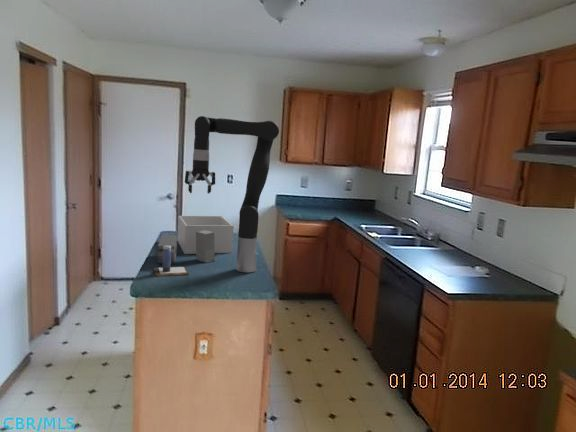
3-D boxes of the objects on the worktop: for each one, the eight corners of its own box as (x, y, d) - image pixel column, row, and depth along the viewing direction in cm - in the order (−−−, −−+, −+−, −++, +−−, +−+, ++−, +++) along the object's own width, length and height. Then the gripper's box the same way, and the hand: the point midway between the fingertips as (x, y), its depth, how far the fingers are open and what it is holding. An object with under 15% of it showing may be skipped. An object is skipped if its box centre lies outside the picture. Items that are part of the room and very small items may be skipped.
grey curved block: (173, 267, 221) (174, 246, 220) (157, 267, 220) (157, 245, 218) (176, 254, 246) (177, 235, 244) (161, 254, 244) (162, 234, 242)
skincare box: (214, 261, 238) (216, 232, 235) (203, 263, 232) (205, 233, 230) (205, 257, 243) (206, 229, 241) (194, 259, 238) (195, 230, 235)
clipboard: (185, 268, 221) (185, 264, 221) (188, 275, 211) (188, 271, 211) (153, 269, 216) (154, 265, 215) (155, 276, 206) (155, 272, 205)
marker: (170, 269, 213) (170, 245, 211) (170, 272, 210) (171, 247, 208) (161, 270, 212) (162, 245, 210) (162, 272, 209) (163, 247, 207)
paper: (183, 267, 220) (183, 266, 220) (186, 272, 211) (186, 272, 211) (158, 268, 215) (158, 267, 215) (160, 273, 207) (160, 273, 207)
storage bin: (220, 240, 286) (221, 216, 284) (232, 252, 258) (233, 225, 255) (177, 241, 277) (178, 215, 274) (184, 253, 248) (185, 225, 245)
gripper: (214, 159, 218) (212, 192, 220) (184, 157, 213) (183, 191, 215) (217, 160, 211) (215, 194, 214) (186, 158, 206) (185, 193, 208)
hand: (199, 193), depth 214 cm, fingers open, 8 cm apart
